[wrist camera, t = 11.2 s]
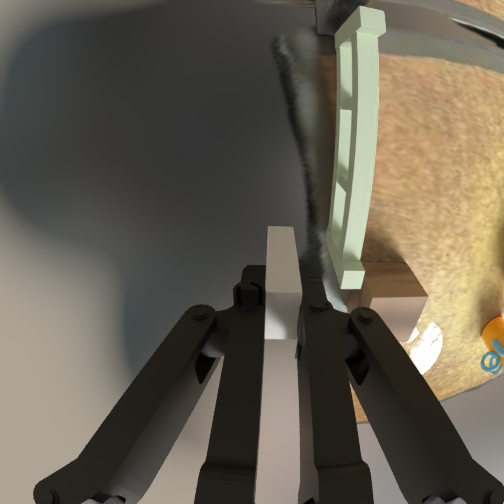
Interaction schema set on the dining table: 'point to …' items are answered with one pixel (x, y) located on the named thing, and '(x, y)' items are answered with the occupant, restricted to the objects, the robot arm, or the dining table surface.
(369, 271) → the walnut block
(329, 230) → the green fence panel
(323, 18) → the hinge post
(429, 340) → the white broken fragments
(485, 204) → the dining table surface
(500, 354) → the cylinder
